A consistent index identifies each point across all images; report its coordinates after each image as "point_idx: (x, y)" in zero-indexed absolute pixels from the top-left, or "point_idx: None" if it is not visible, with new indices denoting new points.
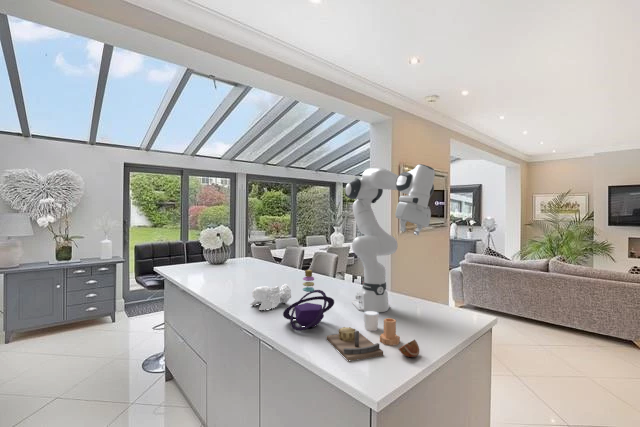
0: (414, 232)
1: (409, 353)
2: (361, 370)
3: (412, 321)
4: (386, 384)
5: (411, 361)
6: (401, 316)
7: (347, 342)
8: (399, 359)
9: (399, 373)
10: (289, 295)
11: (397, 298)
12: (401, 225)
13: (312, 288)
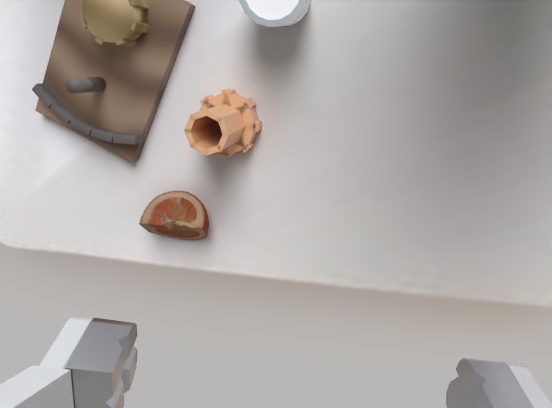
0: (482, 386)
1: (153, 232)
2: (41, 162)
3: (486, 81)
4: (42, 233)
5: None
6: (526, 4)
7: (96, 43)
8: None
9: (96, 233)
10: None
11: None
12: (12, 392)
13: None
